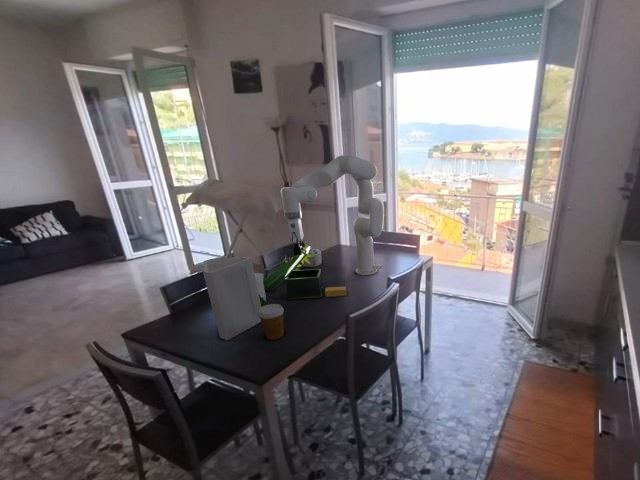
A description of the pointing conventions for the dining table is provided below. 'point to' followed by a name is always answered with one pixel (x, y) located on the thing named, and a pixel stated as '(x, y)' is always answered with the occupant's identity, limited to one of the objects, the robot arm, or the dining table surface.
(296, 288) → the waste bin
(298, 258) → the bin lid
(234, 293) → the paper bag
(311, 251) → the lumpy-topped squat cylinder
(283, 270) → the daffodil flowers
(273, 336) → the disposable coffee cup
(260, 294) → the milk carton
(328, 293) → the yellow rectangular block
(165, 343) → the dining table surface
